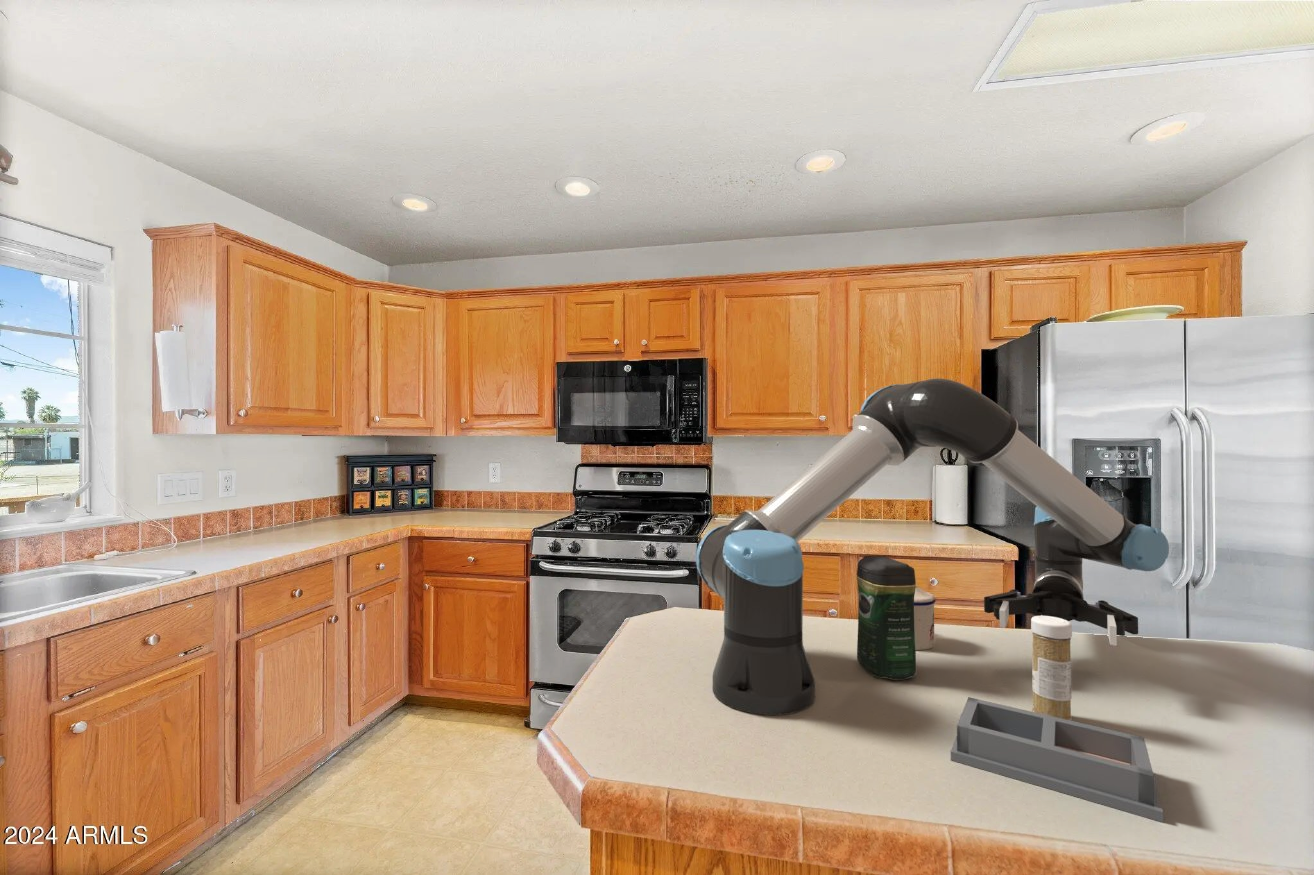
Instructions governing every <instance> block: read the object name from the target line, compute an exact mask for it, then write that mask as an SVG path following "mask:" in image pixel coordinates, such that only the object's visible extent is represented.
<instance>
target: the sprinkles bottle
mask: <svg viewBox="0 0 1314 875" xmlns="http://www.w3.org/2000/svg"><path fill="white" fill-rule="evenodd" d="M1030 622H1031V623H1030V630H1031V632H1032V662H1031V663H1032V665H1031V666H1032V668H1031V670H1032V671H1031V672H1032V673H1031V674H1032V678H1031V679H1032V682H1031V683H1032V684H1031V686H1032V687H1031V688H1032V698H1033V699H1032V706H1033V707H1032V709H1031V710H1032V711H1031V712H1035V713H1040V714H1044V715H1048V716H1053V717H1057V718H1061V719H1066V720H1070V721H1073V718H1072V714H1071V713H1072V712H1071V711H1072V710H1071V709H1072V708H1071V702H1072V658H1071V639H1072V636H1073V629H1072V622H1071V621H1067V620H1064V619H1061V618H1057V617H1051V616H1043V615H1033V616H1032V617H1031V619H1030Z"/></svg>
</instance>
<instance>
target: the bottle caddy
mask: <svg viewBox="0 0 1314 875" xmlns="http://www.w3.org/2000/svg"><path fill="white" fill-rule="evenodd" d="M950 761H952V762H956V763H960V764H963V765H966V766H970V767H972V768H976V769H979V770H980V769H981V770H984V771H987V772H990V773H994V774H996V775H997V774H998V775H1000V776H1004V777H1008V778H1011V779H1014V780H1017V781H1021V782H1024V783H1028V784H1031V785H1034V786H1038V787H1042V788H1045V789H1048V790H1051V791H1054V792H1058V793H1062V794H1065V795H1069V796H1072V797H1075V798H1080V799H1082V800H1085V801H1089V802H1091V803H1092V802H1093V803H1096V804H1099V805H1102V806H1105V807H1110V808H1112V809H1117V810H1120V811H1124V812H1126V813H1130V814H1133V815H1137V816H1141V817H1143V818H1147V819H1151V820H1154V821H1158V822H1160V823H1164V810H1163V806H1162V802H1161V799H1160V795H1159V791H1158V787H1157V783H1156V780H1155V776H1154V775H1155V774H1154V771H1153V767H1152V764H1151V759H1150V756H1149V752H1148V748H1147V745H1146V740H1145V737H1143V736H1138V735H1135V734H1129V733H1126V732H1120V731H1117V730H1113V729H1108V728H1103V727H1100V726H1095V725H1091V724H1086V723H1083V722H1079V721H1074V720H1072V721H1070V720H1066V719H1061V718H1057V717H1053V716H1048V715H1044V714H1040V713H1035V712H1032V711H1031V710H1027V709H1022V708H1019V707H1018V708H1017V707H1013V706H1008V705H1006V704H1005V705H1004V704H1001V703H996V702H991V701H987V700H984V699H978V698H974V697H971V696H969V697H968V698H967V700H966V702H965V705H964V707H963V710H962V712H961V714H960V717H959V719H958V721H957V725H956V736H955V740H954V742H953V744H952V747H951V749H950Z"/></svg>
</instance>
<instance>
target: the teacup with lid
mask: <svg viewBox="0 0 1314 875" xmlns="http://www.w3.org/2000/svg"><path fill="white" fill-rule="evenodd" d="M935 603H936V598H935V596H934V595H933V594H932V593H931V592H928V591H925V590H923V589H922V588H921V587H919V586H917V585H916V589H915V595H914V630H915V650H916V651H924V650H929V649H932V648H933V647H934V646H935Z"/></svg>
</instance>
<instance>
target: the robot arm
mask: <svg viewBox="0 0 1314 875" xmlns="http://www.w3.org/2000/svg"><path fill="white" fill-rule="evenodd" d="M926 447H930V448H932V447H938V448H944V449H947V450H950V451H953V452H956V453H957V454H959V455H961V456H963V457H964V458H965V459H966V460H967V461H969V462H970V463H973V464H981V463H982V464H983V465H984V466H985V467H987V468H988V469H989V470H990V471H992V472H993V473H994V474H996V475H997V476H998V477H999V478H1001V480H1003V481H1004V482H1006V483H1007V484H1008V485H1009V486H1010V487H1012V488H1013V489H1015V490H1016V491H1017V492H1018V493H1020V494H1021V495H1022V496H1023V497H1025V499H1027V500H1028V501H1030V502H1031V503H1032V504H1033V505H1035V506H1036V507H1034V508H1035V509H1034V523H1033V527H1034V528H1033V530H1034V531H1033V532H1034V533H1033V534H1034V585H1033V589H1032V591H1031V592H1032V593H1027V595H1022V594H1021V592H1020V591H1019V590H1017V589H1010V590H1009V591H1007V592H1002V593H997V594H992V595H986V596H984V597H983V610H984V613H987V614H993V616H994V617H995V619H996V620H998V621H999V628H1001V629H1006V628H1007V625H1008V621H1009V618H1010V616H1012V615H1013V616H1014V615H1015V616H1016V615H1023V614H1030V615H1032V616H1051V617H1057V618H1061V619H1064V620H1067V621H1069V622H1071V621H1077V622H1078V623H1079V622H1087V623H1089V624H1092V625H1095V626H1098V627H1100V628H1103V629H1106V630H1107V637H1108V641H1109V645H1111V646H1116V647H1117V646H1118V644H1117V639H1118V637H1117V636H1122V637H1125V636H1126V632H1127V633H1129V634H1131V635H1139V618H1138V616H1135V615H1133V614H1132V613H1129V612H1127V611H1125V610H1123V609H1120V608H1118V607H1115V606H1113V605H1112V604H1109V602H1108V601H1105V600H1098V601H1095V602H1094V603H1095V604H1091V603H1088V602H1087V600H1085V599H1084V591H1083V590H1084V580H1083V559H1084V560H1088V561H1092V562H1097V563H1102V564H1106V565H1111V566H1114V567H1118V568H1123V569H1126V570H1129V571H1130V570H1135V571H1136V570H1137V571H1142V572H1154V571H1156V570H1158V569H1160V568H1162V567H1163V566H1164V564H1165V563H1166V560H1167V559H1168V557H1169V553H1170V544H1169V541H1168V539H1167V537H1166V535H1165V534H1164V532H1163V531H1161V530H1160V529H1158V528H1156V527H1152V526H1149V525H1146V524H1143V523H1139V524H1136V523H1133V522H1131V521H1130V520H1129V519H1128V518H1126V517H1125V516H1124V515H1123V514H1122V513H1120V512H1119V511H1118V510H1117V509H1115V508H1114V507H1113V506H1111V505H1110V504H1109V503H1108V502H1106V501H1105V500H1104V499H1103V498H1102V497H1100V496H1099V494H1097V493H1096V492H1095V491H1093V490H1092V489H1091V488H1090V487H1088V486H1087V485H1086V484H1084V482H1082V480H1080V479H1079V478H1078V477H1076V476H1075V475H1074V474H1072V472H1070V471H1069V470H1068V469H1066V468H1065V467H1064V466H1063V465H1062V464H1060V463H1059V462H1058V461H1057V460H1055V459H1054V458H1053V457H1052V456H1050V455H1049V454H1048V453H1047V452H1046V451H1044V450H1043V449H1042V448H1041V447H1040V446H1038V445H1037V444H1036V443H1035V442H1033V440H1031V439H1030V438H1029V437H1028V436H1026V435H1025V434H1024V433H1023V432H1021V431H1020V430H1019V423H1018V421H1017V418H1015V417H1014V416H1013V415H1011V414H1010V413H1009V412H1008V411H1007V410H1005V409H1004V408H1002V407H1001V406H1000V405H999V404H998V403H996V402H995V401H993V400H992V399H990V398H989V397H987V396H986V395H984V394H983V393H981V392H979V391H977V390H975V389H973V388H972V387H970V386H968V385H966V384H964V383H961V382H959V381H955V380H952V379H948V378H940V377H939V378H938V377H937V378H930V379H925V380H921V381H915V382H909V383H905V384H904V383H903V384H901V383H900V384H899V383H897V384H892V385H888V386H885V387H882V388H880V389H879V390H876V391H874V392H872V393H871V394H870V395H869V396H868V397H867V398H866V400H864V402H863V404H862V405H861V407H860V412H859V413H858V414H857V415H856V416H855V417H854V418H853V419H852V430H851V431H850V432H849V433H848V434H846V435H845V436H844V437H843V438H842V439H840V440H839V441H838V442H837V443H836V444H834V446H832V447H831V448H830V449H829V450H828V451H826V452H825V453H824V454H823V455H822V456H821V457H819V458H818V459H817V460H815V461H814V462H813V463H812V464H811V465H810V466H809V467H807V469H806V470H804V471H803V472H801V474H799V475H798V476H797V477H796V478H794V480H792V481H791V482H790V483H789V484H788V485H787V486H785V487H784V488H783V489H782V490H780V492H778V493H777V494H776V495H774V496H773V497H772V499H770V500H769V501H768V502H767V503H766V504H764V505H762V507H760V508H759V509H758V510H747V509H745V510H743V511H742V512H741V513H740V514H739V515H738V516H737V517H736V518H734V519H733V520H732V521H731V522H730V523H728V524H727V525H719V526H716V527H714V528H712V529H711V530H709V531H708V532H706V534H704V536H703V537H702V538H701V540H700V541H699V544H698V546H697V548H696V555H695V563H696V564H695V565H696V568H697V572H698V573H699V576H700V577H701V579H702V581H703V582H704V584H705V585H706V586H707V587H708V588H709V590H711V591H712V592H714V593H716V594H717V595H718V596H719V597H720V598H721V599H722V600H723V641H722V643H721V646H720V650H719V653H718V656H717V659H716V662H715V665H714V669H713V672H712V693H713V695H714V696H715V697H716V698H717V699H718V700H719V701H720V702H721V703H723V704H724V705H726V706H729V707H731V708H734V709H736V710H739V711H743V712H746V713H751V714H752V713H753V714H759V715H772V716H773V715H775V716H777V715H788V714H793V713H797V712H801V711H803V710H806V709H807V708H809V707H810V706H811V705H812V704H813V703H814V702H815V701H816V700H815V699H816V681H815V677H814V675H813V671H812V668H811V665H810V662H809V658H808V655H807V653H806V650H805V647H804V640H803V639H804V638H803V635H804V634H803V628H804V626H803V620H804V618H803V614H804V613H803V612H804V610H803V609H804V608H803V606H804V604H803V600H804V599H803V598H804V596H803V593H804V592H803V591H804V588H803V587H804V570H805V569H804V568H805V567H804V565H805V564H804V561H803V550H802V547H801V545H800V544H799V541H801V540H802V539H803V538H804V537H805V536H807V535H808V533H809V534H810V532H811V531H812V530H813V529H814V528H816V527H817V526H818V525H819V524H820V523H821V522H823V521H824V520H825V519H826V518H827V517H828V516H829V515H830V514H831V513H833V512H834V511H835V510H837V508H839V507H840V506H841V505H842V504H843V503H844V502H845V501H847V500H848V499H849V498H850V497H852V496H853V495H854V493H856V492H857V491H858V490H859V489H860V488H861V487H863V486H864V485H865V484H866V483H867V482H869V481H870V480H871V479H872V478H874V476H875V475H877V474H878V473H879V472H880V471H881V470H882V469H883V468H885V466H887V465H888V466H900V465H901V464H903V462H905V461H906V460H907V459H908V458H910V456H912V454H913V453H915V452H916V451H917V450H918V449H920V448H926Z"/></svg>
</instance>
